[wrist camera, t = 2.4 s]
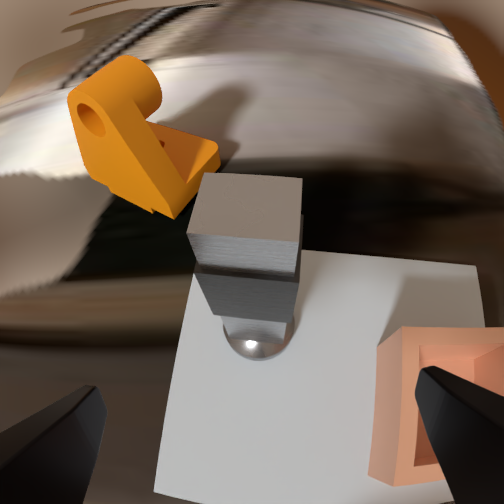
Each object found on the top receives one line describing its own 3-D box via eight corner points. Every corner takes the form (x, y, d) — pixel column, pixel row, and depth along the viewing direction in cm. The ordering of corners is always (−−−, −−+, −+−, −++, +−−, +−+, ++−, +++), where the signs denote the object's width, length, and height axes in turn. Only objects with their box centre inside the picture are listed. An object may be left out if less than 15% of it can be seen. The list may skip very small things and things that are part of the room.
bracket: (226, 166, 28) (208, 44, 18) (176, 225, 25) (129, 99, 15) (142, 137, 32) (109, 39, 21) (95, 184, 29) (43, 85, 18)
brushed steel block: (290, 364, 19) (319, 276, 8) (219, 356, 20) (158, 261, 9) (296, 299, 21) (320, 158, 11) (230, 292, 22) (194, 151, 11)
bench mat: (477, 492, 13) (480, 493, 13) (155, 490, 16) (153, 491, 15) (473, 268, 22) (475, 265, 22) (202, 244, 24) (201, 241, 24)
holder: (477, 460, 14) (517, 460, 10) (367, 475, 15) (393, 486, 11) (479, 346, 18) (515, 326, 15) (376, 347, 19) (401, 326, 15)
